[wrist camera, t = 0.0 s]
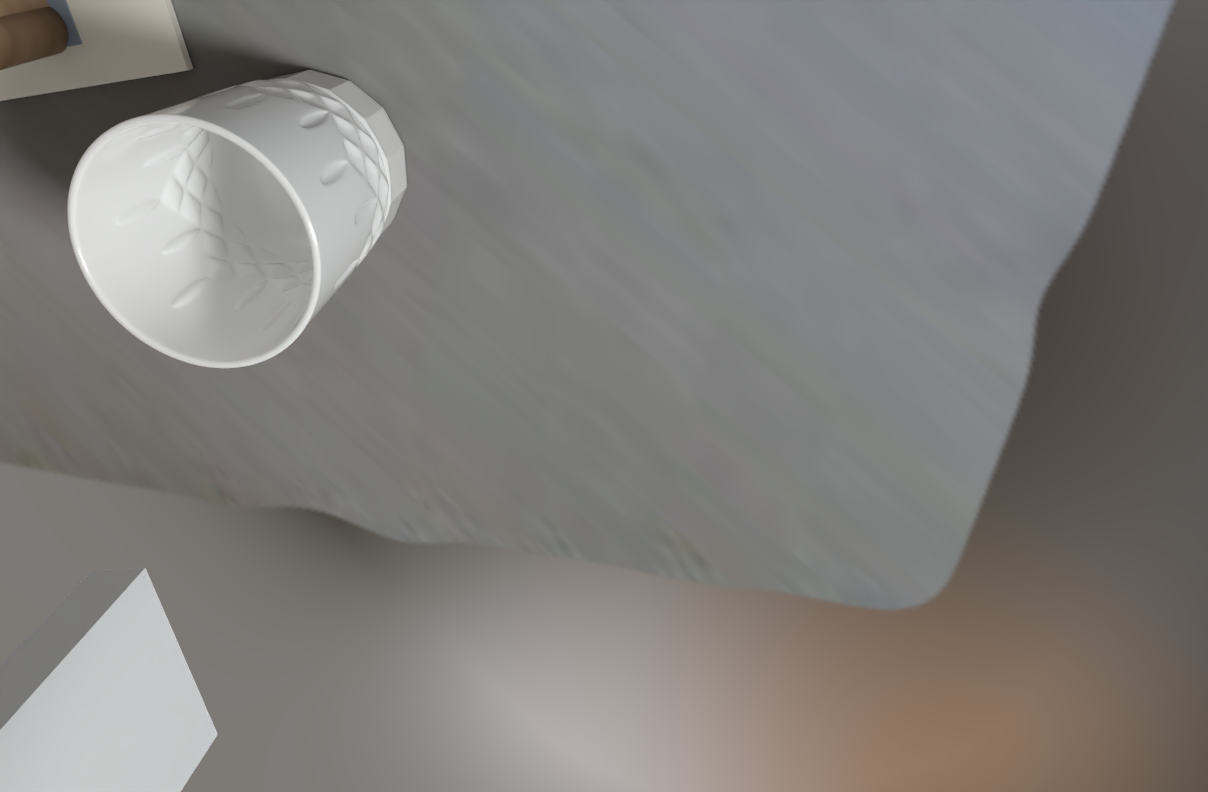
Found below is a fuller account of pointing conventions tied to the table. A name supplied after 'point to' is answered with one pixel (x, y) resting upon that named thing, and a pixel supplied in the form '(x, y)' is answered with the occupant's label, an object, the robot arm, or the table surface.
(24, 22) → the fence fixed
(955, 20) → the table surface
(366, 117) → the white cup
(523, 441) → the table surface
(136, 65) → the board
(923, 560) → the table surface
